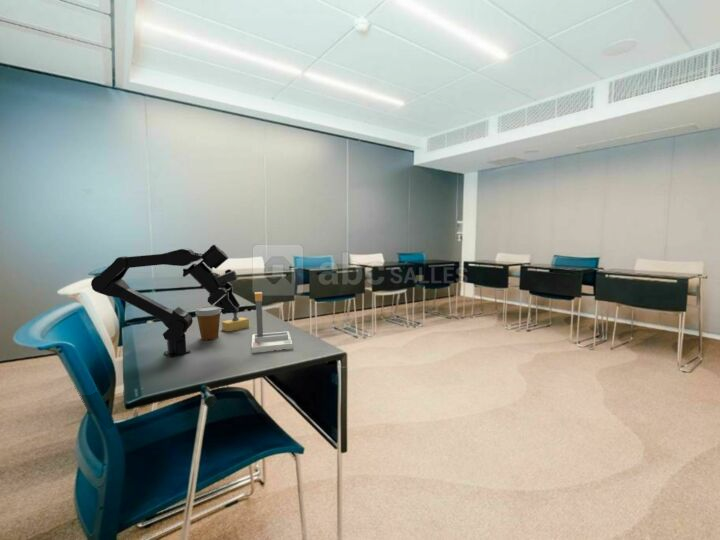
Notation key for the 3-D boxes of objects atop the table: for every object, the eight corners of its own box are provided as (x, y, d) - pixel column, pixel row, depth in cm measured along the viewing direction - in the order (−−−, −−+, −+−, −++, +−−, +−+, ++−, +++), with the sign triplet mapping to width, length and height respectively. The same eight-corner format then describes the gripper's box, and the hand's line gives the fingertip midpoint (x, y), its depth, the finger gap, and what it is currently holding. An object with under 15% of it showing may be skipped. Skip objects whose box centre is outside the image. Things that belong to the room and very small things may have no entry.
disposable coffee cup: (222, 339, 131) (220, 309, 130) (195, 342, 128) (193, 311, 126) (222, 333, 140) (221, 305, 139) (197, 335, 136) (196, 307, 135)
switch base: (251, 352, 116) (251, 342, 115) (252, 339, 131) (252, 330, 131) (292, 348, 120) (292, 339, 120) (288, 336, 135) (288, 327, 135)
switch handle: (256, 340, 122) (254, 293, 120) (256, 338, 125) (254, 292, 123) (263, 340, 123) (262, 293, 121) (263, 337, 126) (262, 291, 124)
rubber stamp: (228, 332, 141) (227, 304, 140) (221, 329, 145) (220, 302, 144) (249, 327, 149) (248, 300, 148) (242, 324, 153) (241, 299, 151)
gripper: (219, 264, 108) (253, 299, 112) (227, 260, 126) (256, 290, 130) (192, 287, 107) (227, 321, 111) (204, 280, 125) (233, 309, 128)
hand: (237, 309), depth 120 cm, fingers open, 9 cm apart
